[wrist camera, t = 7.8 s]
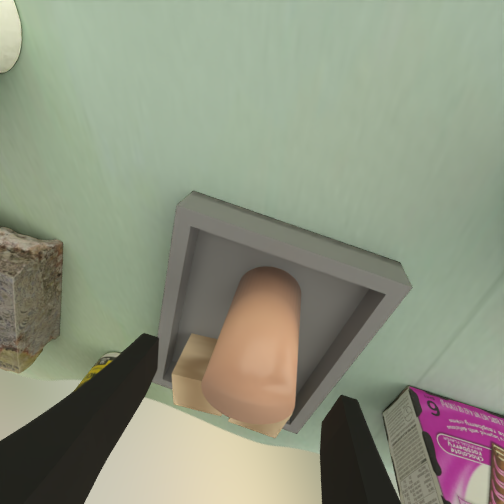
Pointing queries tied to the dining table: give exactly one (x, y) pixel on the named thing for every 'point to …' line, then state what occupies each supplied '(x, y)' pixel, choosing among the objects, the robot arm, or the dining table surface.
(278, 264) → the tray
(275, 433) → the beech block
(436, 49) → the dining table surface
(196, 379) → the beech block
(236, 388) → the flesh-toned capsule
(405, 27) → the dining table surface
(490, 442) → the candy bar box
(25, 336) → the geological specimen
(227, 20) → the dining table surface
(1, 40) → the white sack
